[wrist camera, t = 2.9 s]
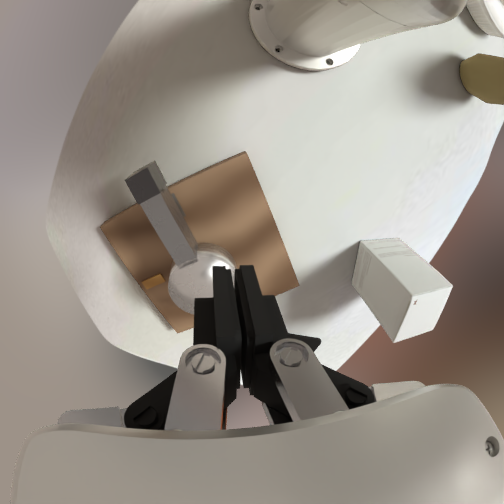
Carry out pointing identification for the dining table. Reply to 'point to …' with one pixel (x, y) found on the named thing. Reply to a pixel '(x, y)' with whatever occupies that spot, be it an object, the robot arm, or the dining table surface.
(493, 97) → the squeeze bottle
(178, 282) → the square-handled spoon
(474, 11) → the ramekin
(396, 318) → the supplement box
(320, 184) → the dining table surface
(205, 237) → the post base
